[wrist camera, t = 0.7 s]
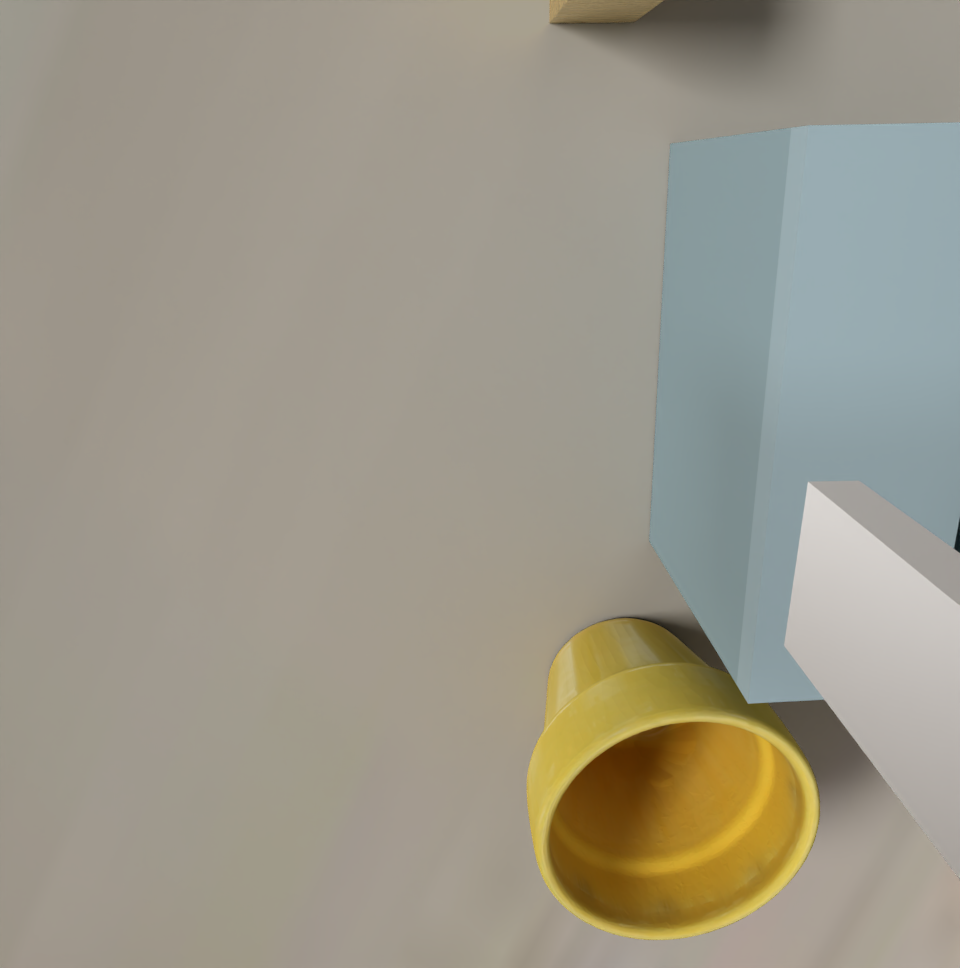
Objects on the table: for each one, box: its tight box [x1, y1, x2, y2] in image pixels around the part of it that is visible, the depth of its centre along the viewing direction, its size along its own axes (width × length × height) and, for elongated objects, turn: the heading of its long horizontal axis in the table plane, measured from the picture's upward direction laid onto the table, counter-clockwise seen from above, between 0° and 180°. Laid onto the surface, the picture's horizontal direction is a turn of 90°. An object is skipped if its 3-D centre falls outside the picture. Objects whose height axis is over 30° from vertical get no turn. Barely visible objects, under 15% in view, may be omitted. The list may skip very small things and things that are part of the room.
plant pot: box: [527, 618, 820, 940], centre depth 34 cm, size 10×10×10 cm
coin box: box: [649, 123, 960, 704], centre depth 29 cm, size 16×16×12 cm
